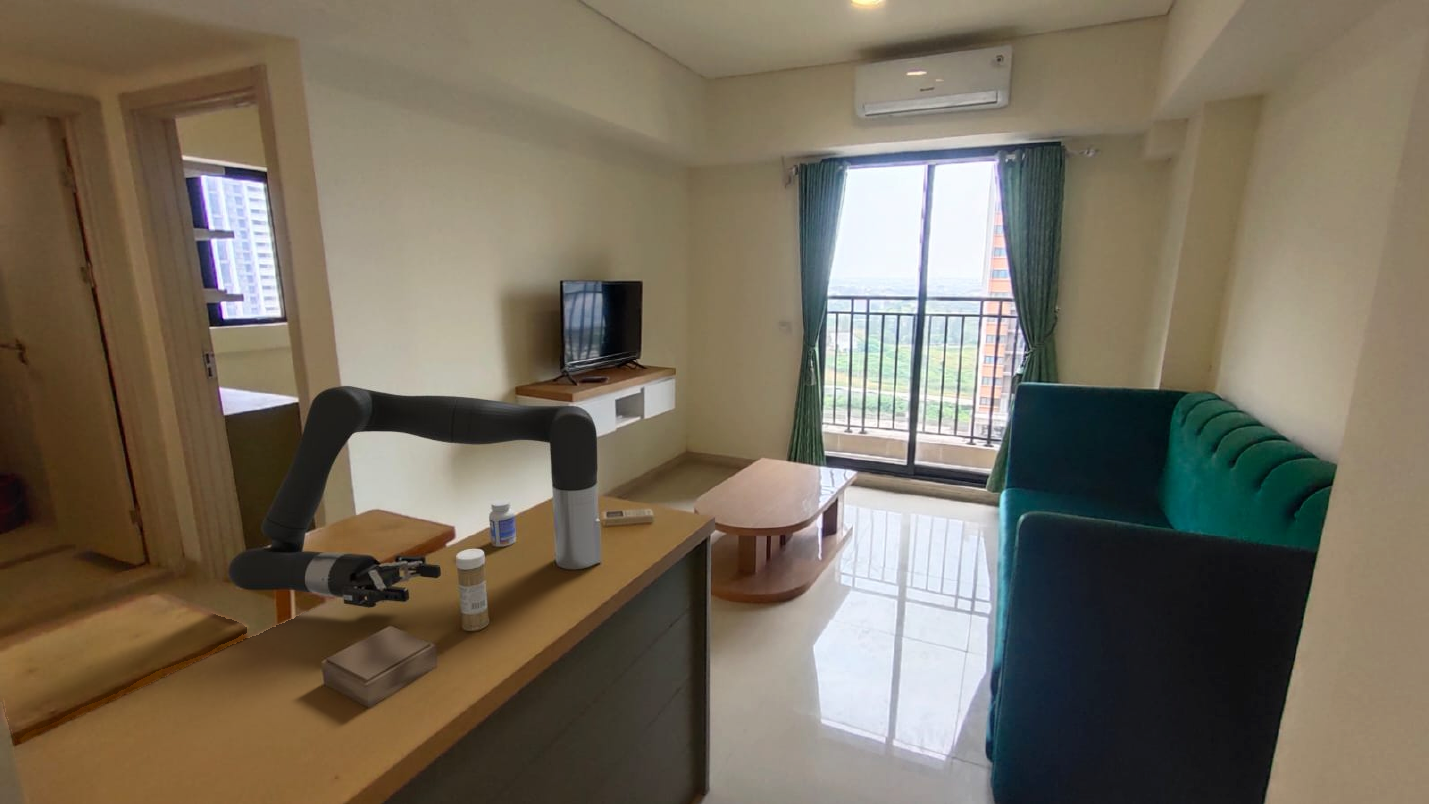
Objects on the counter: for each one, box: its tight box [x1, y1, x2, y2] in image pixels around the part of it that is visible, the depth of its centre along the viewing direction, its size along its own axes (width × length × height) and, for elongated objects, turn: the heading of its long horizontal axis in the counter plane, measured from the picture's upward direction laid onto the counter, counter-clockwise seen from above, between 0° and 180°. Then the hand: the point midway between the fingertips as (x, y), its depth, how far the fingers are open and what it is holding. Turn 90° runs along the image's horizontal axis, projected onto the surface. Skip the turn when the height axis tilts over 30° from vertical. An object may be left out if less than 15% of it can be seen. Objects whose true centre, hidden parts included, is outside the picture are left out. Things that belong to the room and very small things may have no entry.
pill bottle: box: [488, 499, 517, 548], centre depth 140 cm, size 5×5×10 cm
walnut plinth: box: [320, 625, 438, 709], centre depth 93 cm, size 11×11×4 cm
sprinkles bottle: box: [455, 548, 490, 632], centre depth 105 cm, size 5×5×13 cm
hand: (424, 583), depth 106 cm, fingers open, 8 cm apart
